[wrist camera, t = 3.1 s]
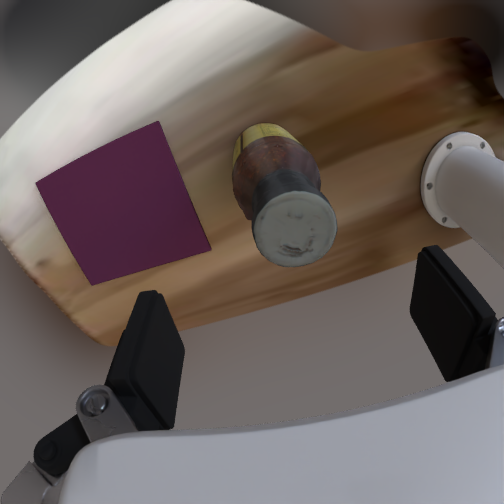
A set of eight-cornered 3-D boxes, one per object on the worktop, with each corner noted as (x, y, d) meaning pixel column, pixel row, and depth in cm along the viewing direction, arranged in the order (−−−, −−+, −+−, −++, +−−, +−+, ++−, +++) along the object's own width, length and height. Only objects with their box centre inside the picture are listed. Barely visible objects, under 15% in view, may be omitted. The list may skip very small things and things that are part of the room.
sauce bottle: (265, 189, 34) (285, 315, 17) (221, 151, 32) (192, 247, 15) (308, 147, 32) (380, 235, 15) (265, 106, 30) (293, 144, 13)
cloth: (158, 120, 30) (158, 121, 30) (211, 249, 38) (211, 250, 38) (36, 182, 33) (35, 183, 32) (92, 284, 40) (91, 285, 40)
